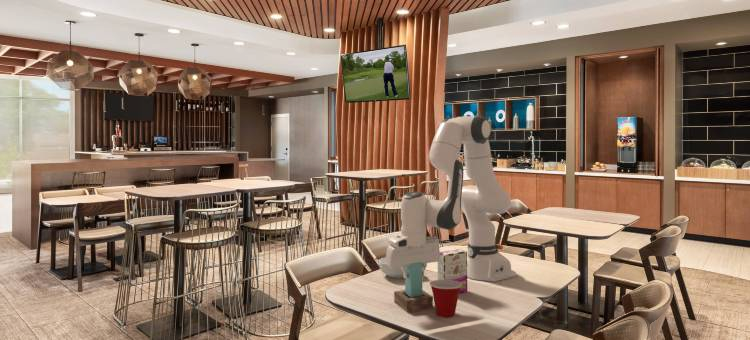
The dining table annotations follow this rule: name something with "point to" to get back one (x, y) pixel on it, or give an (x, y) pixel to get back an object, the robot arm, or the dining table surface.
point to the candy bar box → (453, 267)
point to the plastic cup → (445, 296)
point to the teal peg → (414, 280)
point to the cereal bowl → (390, 269)
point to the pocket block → (413, 301)
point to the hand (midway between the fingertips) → (413, 276)
